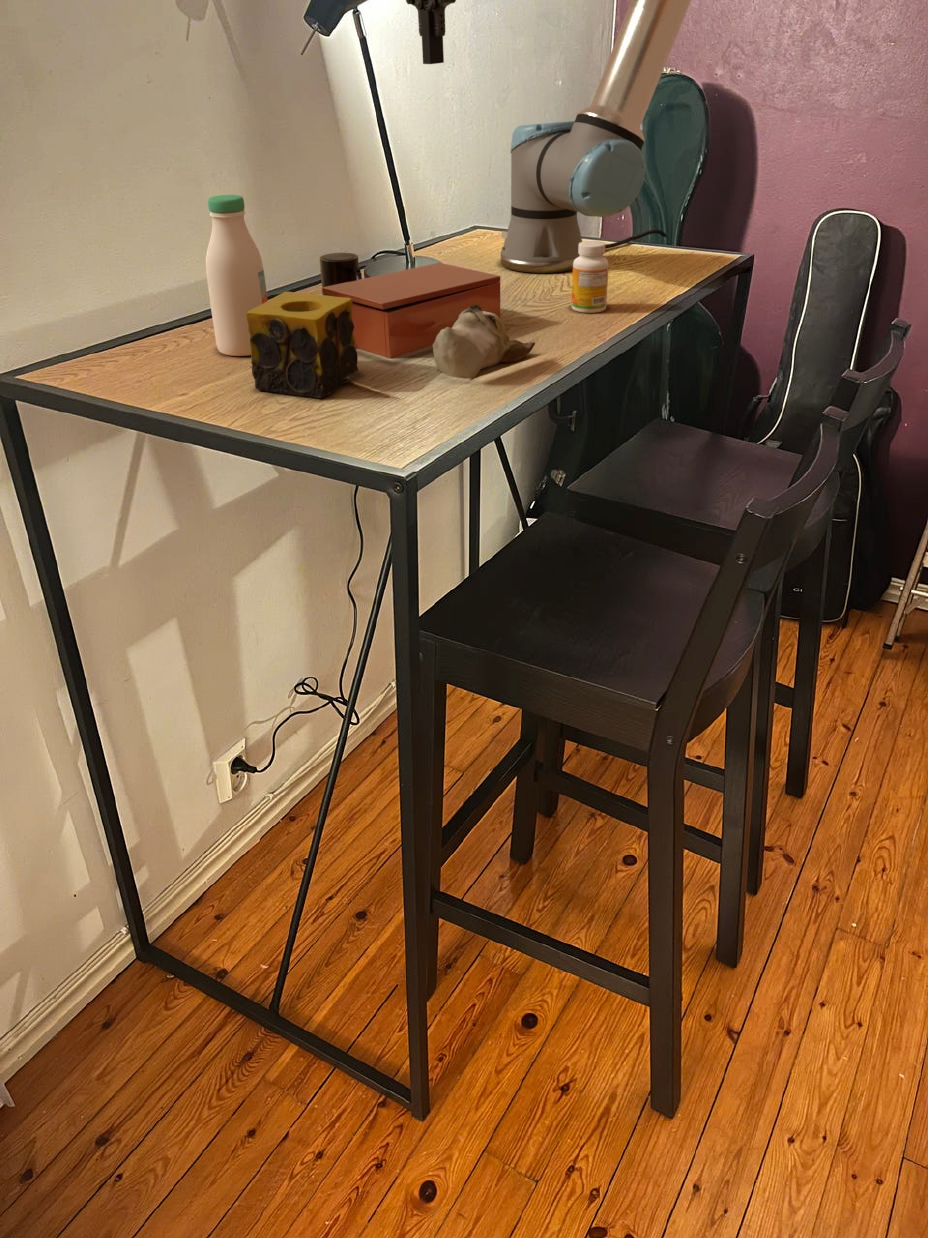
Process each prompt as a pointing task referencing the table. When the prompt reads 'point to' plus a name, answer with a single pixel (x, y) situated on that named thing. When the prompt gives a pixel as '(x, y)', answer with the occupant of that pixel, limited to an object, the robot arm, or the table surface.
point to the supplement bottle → (590, 278)
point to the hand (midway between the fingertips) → (433, 62)
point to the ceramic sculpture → (475, 344)
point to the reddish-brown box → (416, 320)
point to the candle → (302, 344)
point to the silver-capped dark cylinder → (339, 269)
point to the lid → (410, 285)
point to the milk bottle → (232, 274)
